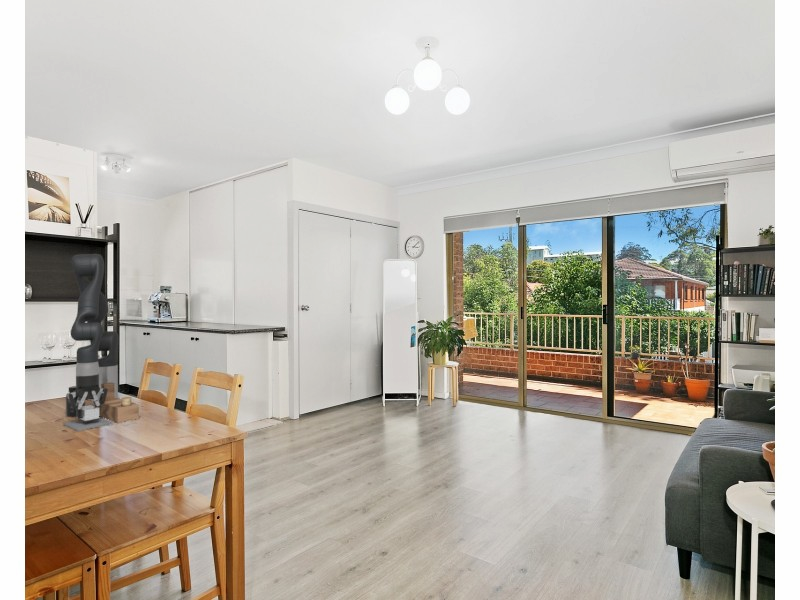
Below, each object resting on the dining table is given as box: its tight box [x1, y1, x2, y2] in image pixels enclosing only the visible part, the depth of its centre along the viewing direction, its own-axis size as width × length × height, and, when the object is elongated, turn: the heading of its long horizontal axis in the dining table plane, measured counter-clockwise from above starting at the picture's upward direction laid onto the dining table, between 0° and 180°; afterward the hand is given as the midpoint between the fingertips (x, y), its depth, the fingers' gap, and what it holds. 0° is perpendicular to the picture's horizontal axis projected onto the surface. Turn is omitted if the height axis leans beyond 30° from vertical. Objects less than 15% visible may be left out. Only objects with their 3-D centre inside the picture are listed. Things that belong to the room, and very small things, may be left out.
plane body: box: [99, 382, 140, 424], centre depth 198 cm, size 20×8×13 cm, turn 54°
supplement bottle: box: [65, 385, 86, 418], centre depth 201 cm, size 7×7×12 cm
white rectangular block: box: [75, 404, 100, 421], centre depth 186 cm, size 8×5×4 cm, turn 54°
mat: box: [62, 417, 114, 432], centre depth 186 cm, size 14×12×1 cm
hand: (87, 416), depth 186 cm, fingers closed on white rectangular block, 5 cm apart
